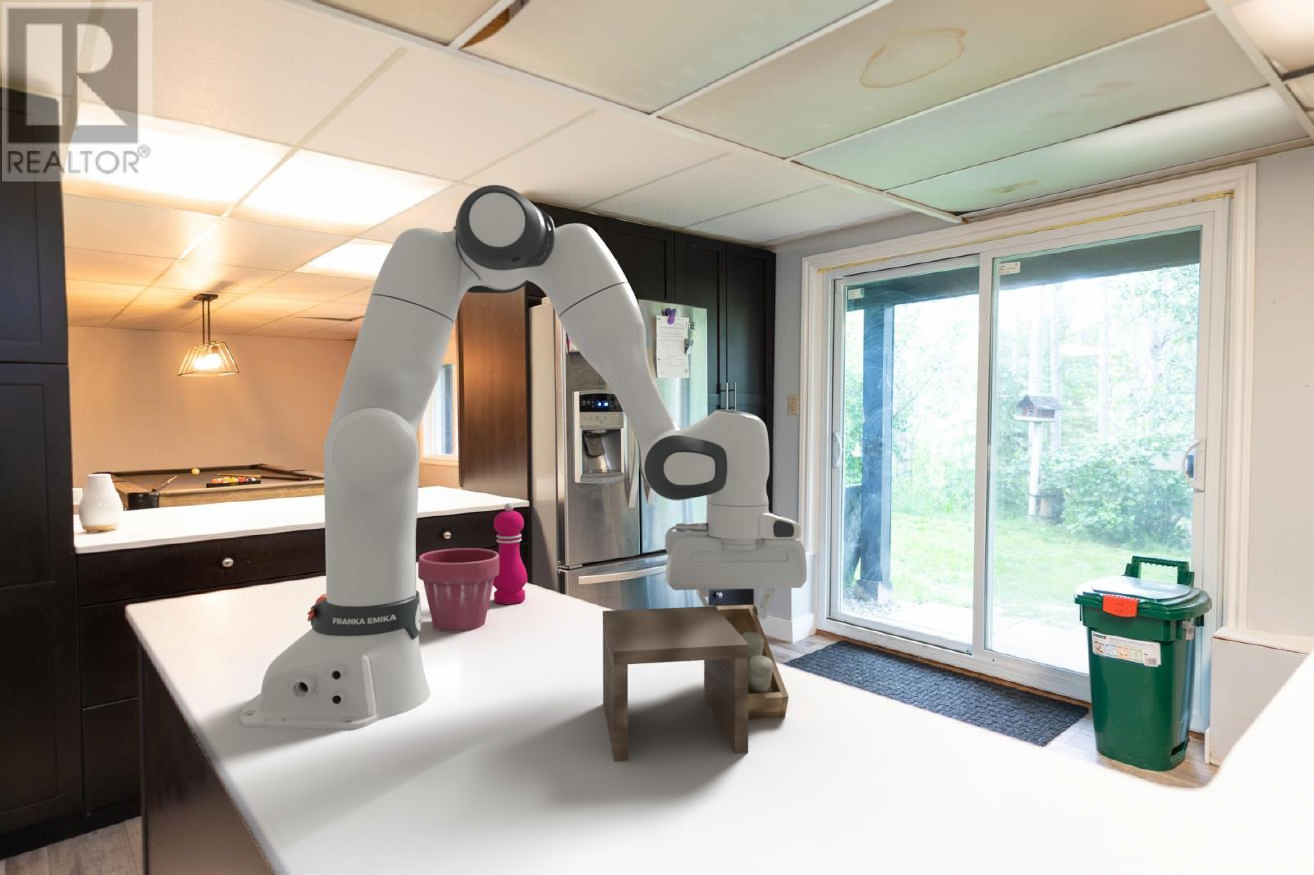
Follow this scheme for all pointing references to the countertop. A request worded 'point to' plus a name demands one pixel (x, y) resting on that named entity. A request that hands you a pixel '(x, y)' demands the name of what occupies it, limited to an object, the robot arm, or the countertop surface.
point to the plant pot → (458, 586)
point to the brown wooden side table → (676, 641)
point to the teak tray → (777, 686)
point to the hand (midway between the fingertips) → (735, 618)
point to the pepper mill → (509, 558)
